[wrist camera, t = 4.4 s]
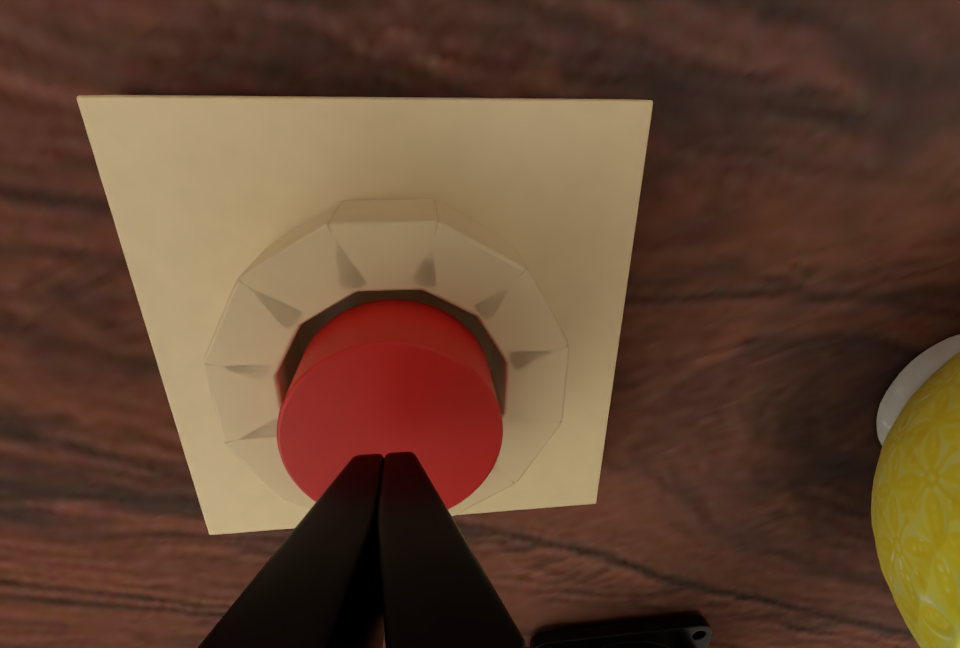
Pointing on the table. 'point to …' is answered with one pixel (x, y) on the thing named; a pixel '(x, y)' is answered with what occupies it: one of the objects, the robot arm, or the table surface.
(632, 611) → the table surface
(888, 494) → the bowl
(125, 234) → the button box
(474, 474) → the button
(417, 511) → the robot arm
